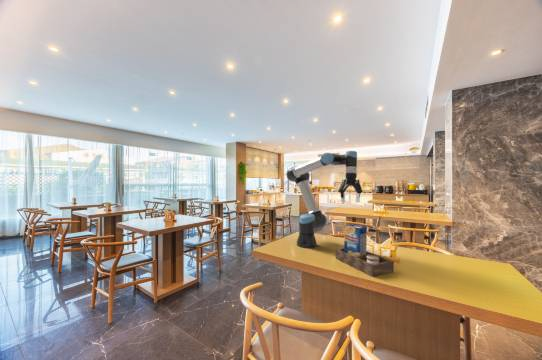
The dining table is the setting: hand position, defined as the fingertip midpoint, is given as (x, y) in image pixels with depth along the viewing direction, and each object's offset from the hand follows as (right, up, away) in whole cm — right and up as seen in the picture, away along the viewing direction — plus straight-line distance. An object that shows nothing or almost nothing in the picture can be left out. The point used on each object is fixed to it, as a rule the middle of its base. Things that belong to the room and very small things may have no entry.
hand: (350, 202), depth 156 cm
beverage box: (-5, -35, -21) cm, 41 cm away
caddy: (-2, -35, -27) cm, 44 cm away
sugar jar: (0, -35, -33) cm, 48 cm away
